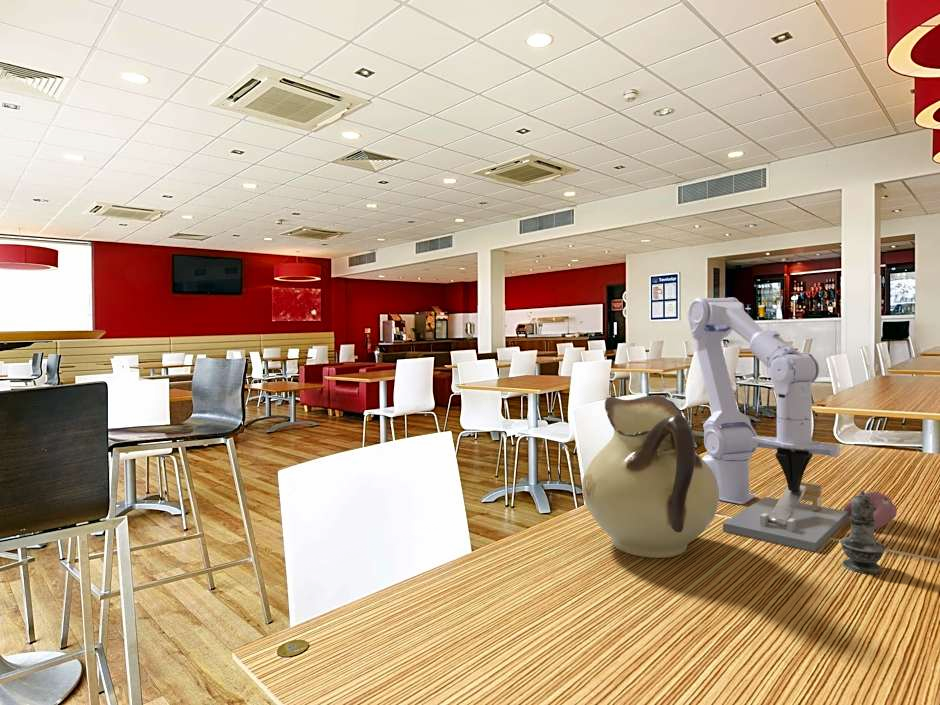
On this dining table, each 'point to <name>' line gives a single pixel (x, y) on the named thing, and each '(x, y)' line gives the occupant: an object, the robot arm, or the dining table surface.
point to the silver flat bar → (786, 506)
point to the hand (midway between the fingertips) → (794, 489)
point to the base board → (788, 524)
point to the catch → (813, 494)
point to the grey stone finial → (862, 539)
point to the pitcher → (650, 480)
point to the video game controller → (878, 509)
